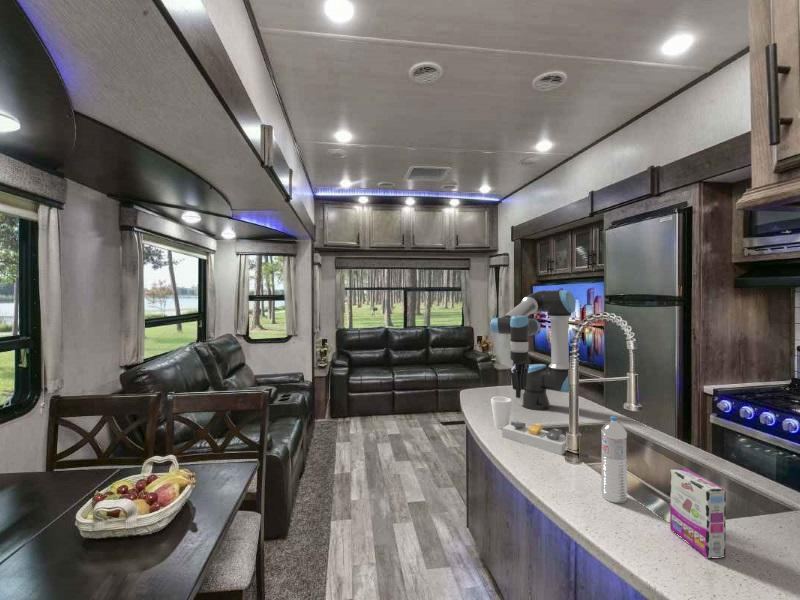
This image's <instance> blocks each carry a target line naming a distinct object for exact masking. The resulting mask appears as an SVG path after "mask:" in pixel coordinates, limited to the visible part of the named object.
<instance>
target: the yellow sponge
mask: <svg viewBox="0 0 800 600" xmlns="http://www.w3.org/2000/svg"><path fill="white" fill-rule="evenodd" d="M529 427H530V428H529V429H528V433H532V434H535V435H537V434H538V433H539V432H540V431H541V430H544V425H543V424H539V423H535V422H534V423H533V424H532V425H531V426H529Z"/></svg>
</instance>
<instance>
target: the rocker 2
mask: <svg viewBox="0 0 800 600" xmlns="http://www.w3.org/2000/svg"><path fill="white" fill-rule="evenodd" d="M548 432H549V433H548V434H547V438H550V439H553V440H556V439H557V438H558V437H559V436H560V435H563V431H562V429H559V428H554V427H551V429H550V431H548Z"/></svg>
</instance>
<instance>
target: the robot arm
mask: <svg viewBox="0 0 800 600" xmlns="http://www.w3.org/2000/svg"><path fill="white" fill-rule="evenodd" d="M575 299H576V298H575V295H574V294H573V293H572V291H570V290H565V289H564V290H563V289H561V290H559V289H557V290H537V291H535V292H533V293H531V294H529V295H527V296H524V298H523V299H522V300H521V302H520V303H519V304H518V305H516V306H515V307H514V308H512V309H511V310H509V311H508V312H506V313H505V314H504V315H503V316H501V317H493V318H492V319H491V320H490V323H489V324H490V325H489V328H490V331H491V332H492V333H493V334H499V335H501V334H502V335H510V343H509V344H510V350H511V351H510V354H509V355H510V357H509V358H510V360H512V367H510V368H509V372H510V378H511V385H512V386H511V387H512V389H513V390H515V404H516V405H518V406H522V407H523V408H525V409H529V410H538V411H543V410H549V408H550V406H551V405H550V401H549V397H548V395H547V390H549V391H553V392H561V393H567V394H568V393H570V392H569V384H568V370H569V364H570V357H569V355H570V353H569V352H570V350H569V349H570V348H569V346H570V345H569V319H570V317H572V313H574V312H575V311H576V300H575ZM537 312H538V313H539V312H540V313H543V312H544V313H547V317H548V318H549V319H550V354H551V357H550V358H551V363H550V364H549V365H548V367H547V364H544V363H534V364H527V361H528V360H529V352H528V351H529V336H535V335H537V334H538V333H539V332H540V330H541V324H540V322H539V321H538V320H537V319H535V318H529V316H530V315H533V314H536V313H537Z"/></svg>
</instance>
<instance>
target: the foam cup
mask: <svg viewBox="0 0 800 600" xmlns="http://www.w3.org/2000/svg"><path fill="white" fill-rule="evenodd" d="M490 404H491V408H492V409H491V411H492V417H493V418H492V419H493V424H494V428H496V429H500V430H502V428H503V427H505V426H507V425H509V424H510V415H511V408H512V399H511V397H510V398H509V397H506V396H493V397H491V398H490Z"/></svg>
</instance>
